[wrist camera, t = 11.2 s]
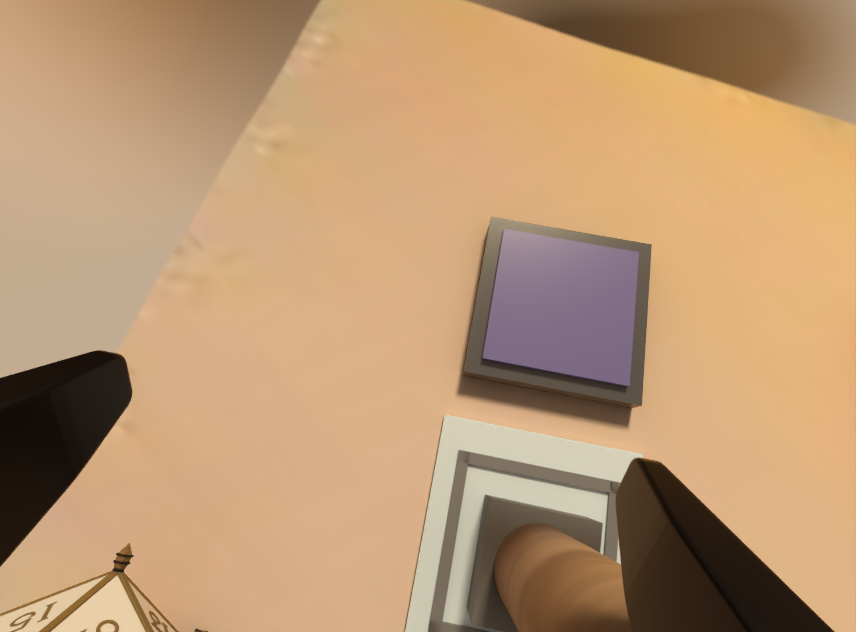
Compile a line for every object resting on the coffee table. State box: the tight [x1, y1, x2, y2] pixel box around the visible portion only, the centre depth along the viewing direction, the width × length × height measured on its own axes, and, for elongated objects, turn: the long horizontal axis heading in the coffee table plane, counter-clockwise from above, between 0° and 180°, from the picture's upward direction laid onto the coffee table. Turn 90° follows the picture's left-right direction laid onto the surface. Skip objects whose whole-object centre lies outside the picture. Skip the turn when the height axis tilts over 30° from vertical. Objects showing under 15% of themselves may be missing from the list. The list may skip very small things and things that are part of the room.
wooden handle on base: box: [467, 494, 631, 632], centre depth 13 cm, size 4×4×13 cm
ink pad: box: [463, 217, 651, 408], centre depth 22 cm, size 8×8×1 cm
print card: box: [405, 415, 643, 632], centre depth 20 cm, size 10×9×1 cm
